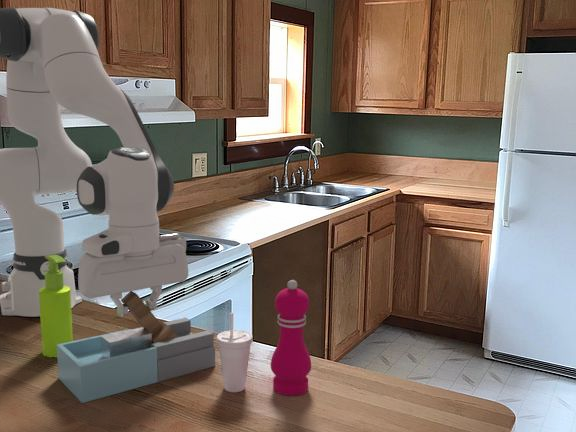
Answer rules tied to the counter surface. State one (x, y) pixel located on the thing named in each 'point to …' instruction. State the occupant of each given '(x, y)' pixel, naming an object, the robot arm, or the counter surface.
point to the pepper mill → (291, 342)
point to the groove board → (184, 351)
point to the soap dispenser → (55, 309)
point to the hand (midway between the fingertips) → (137, 312)
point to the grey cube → (139, 339)
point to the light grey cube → (115, 344)
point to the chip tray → (103, 369)
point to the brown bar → (148, 318)
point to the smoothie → (234, 357)
